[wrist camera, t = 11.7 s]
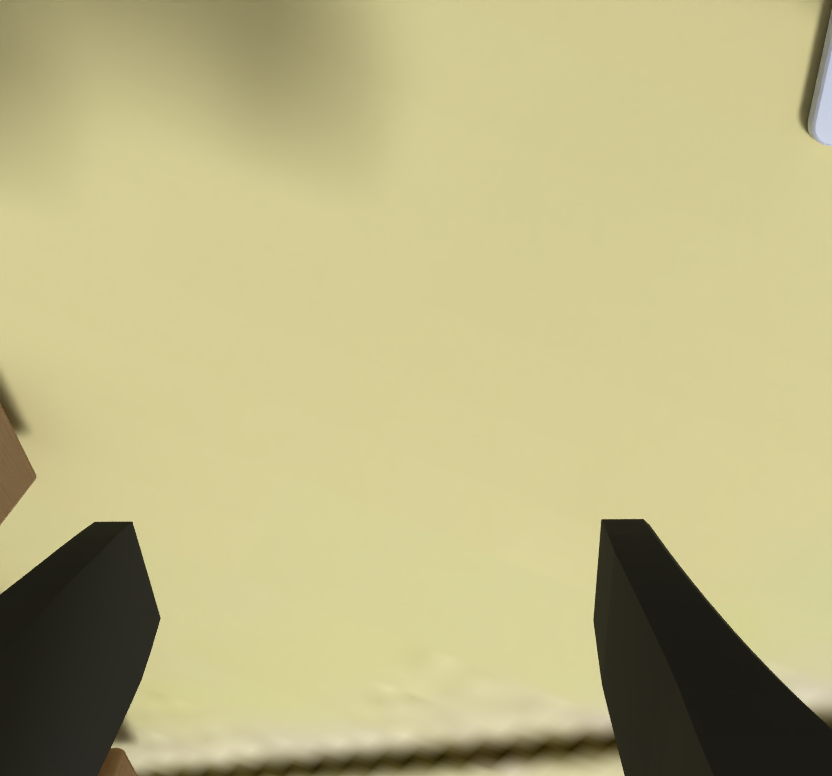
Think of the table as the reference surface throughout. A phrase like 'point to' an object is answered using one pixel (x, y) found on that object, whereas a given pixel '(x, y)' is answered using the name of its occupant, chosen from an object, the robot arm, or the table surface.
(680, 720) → the robot arm
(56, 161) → the table surface
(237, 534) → the table surface
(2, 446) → the wooden block set
